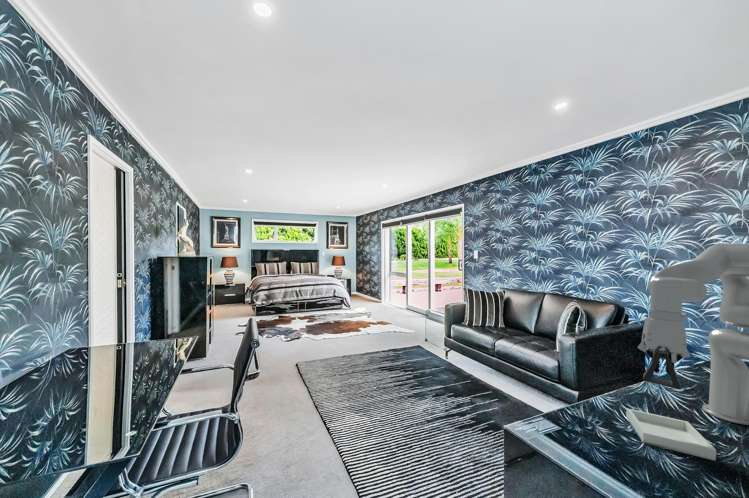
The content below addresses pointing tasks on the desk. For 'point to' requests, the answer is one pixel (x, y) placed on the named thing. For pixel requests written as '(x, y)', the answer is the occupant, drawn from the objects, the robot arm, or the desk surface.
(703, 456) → the tray
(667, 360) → the phone stand
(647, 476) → the desk surface
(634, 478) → the desk surface
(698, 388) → the desk surface
